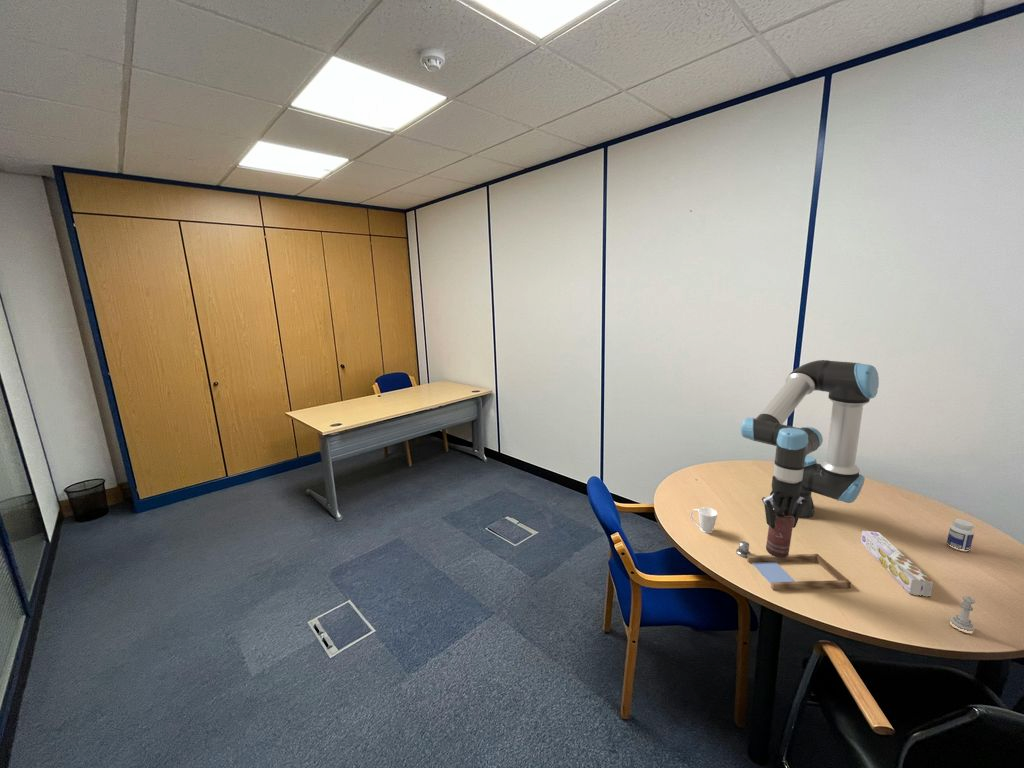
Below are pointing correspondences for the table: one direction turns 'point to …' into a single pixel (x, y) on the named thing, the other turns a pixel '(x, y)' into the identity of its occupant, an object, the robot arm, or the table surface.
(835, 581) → the frame
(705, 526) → the cup
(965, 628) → the chess piece
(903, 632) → the table surface
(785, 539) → the can
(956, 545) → the pill bottle
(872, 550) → the box
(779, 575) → the front pad
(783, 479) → the robot arm
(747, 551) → the grey metal knob
